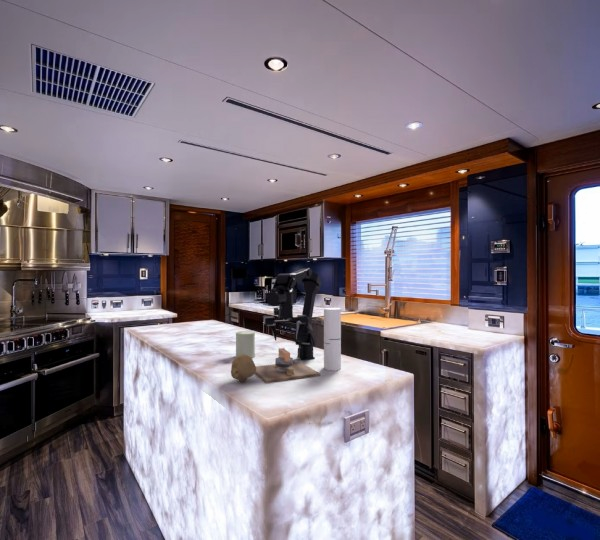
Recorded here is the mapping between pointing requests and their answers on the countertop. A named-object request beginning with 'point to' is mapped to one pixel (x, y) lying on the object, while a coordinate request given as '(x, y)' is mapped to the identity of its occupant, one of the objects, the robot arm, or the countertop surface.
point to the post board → (284, 372)
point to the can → (245, 343)
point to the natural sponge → (242, 367)
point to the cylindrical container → (332, 338)
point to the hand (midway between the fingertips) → (286, 339)
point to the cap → (283, 358)
